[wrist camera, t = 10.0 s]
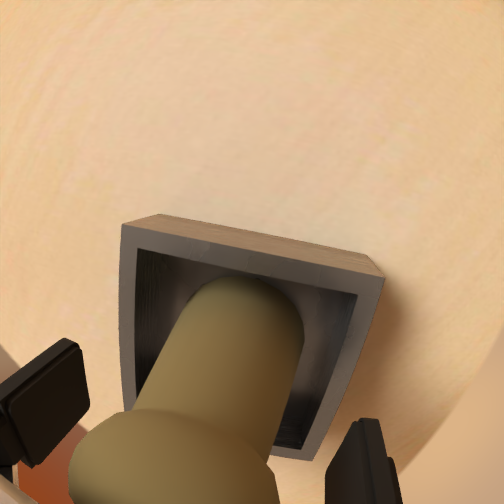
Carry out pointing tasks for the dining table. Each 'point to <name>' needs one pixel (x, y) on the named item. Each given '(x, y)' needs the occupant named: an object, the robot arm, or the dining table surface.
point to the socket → (257, 267)
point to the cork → (201, 407)
